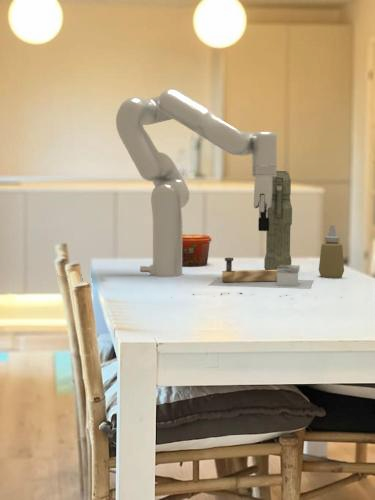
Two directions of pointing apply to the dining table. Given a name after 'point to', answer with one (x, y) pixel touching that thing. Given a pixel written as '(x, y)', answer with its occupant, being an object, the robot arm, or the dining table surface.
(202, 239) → the food container
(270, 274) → the oak link
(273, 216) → the olive green pillar
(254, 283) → the base plate
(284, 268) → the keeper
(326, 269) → the squeeze bottle
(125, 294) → the dining table surface
